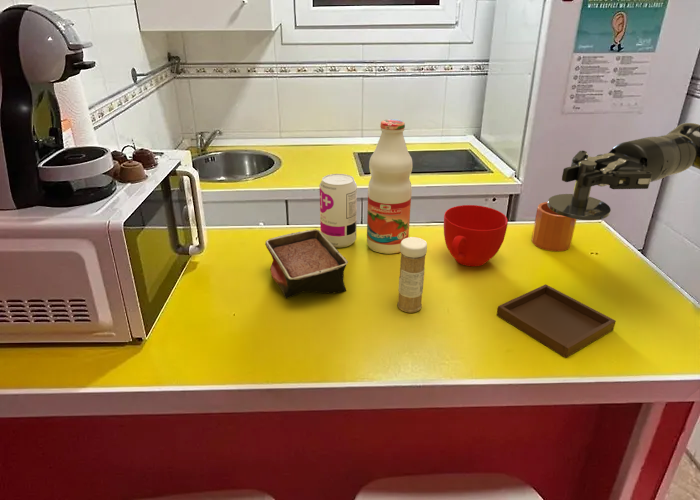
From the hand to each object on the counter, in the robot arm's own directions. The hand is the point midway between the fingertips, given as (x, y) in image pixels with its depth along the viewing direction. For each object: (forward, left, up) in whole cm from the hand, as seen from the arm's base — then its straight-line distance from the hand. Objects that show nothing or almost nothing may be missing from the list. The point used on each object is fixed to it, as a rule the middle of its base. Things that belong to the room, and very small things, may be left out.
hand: (572, 178), depth 79 cm
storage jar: (+19, -27, -27) cm, 43 cm away
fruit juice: (+39, +5, -27) cm, 47 cm away
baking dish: (+35, +28, -27) cm, 52 cm away
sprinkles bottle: (+17, +17, -27) cm, 36 cm away
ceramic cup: (+23, -4, -27) cm, 35 cm away
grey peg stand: (0, -3, -6) cm, 6 cm away
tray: (-1, -1, -27) cm, 27 cm away
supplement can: (+47, +13, -27) cm, 55 cm away
